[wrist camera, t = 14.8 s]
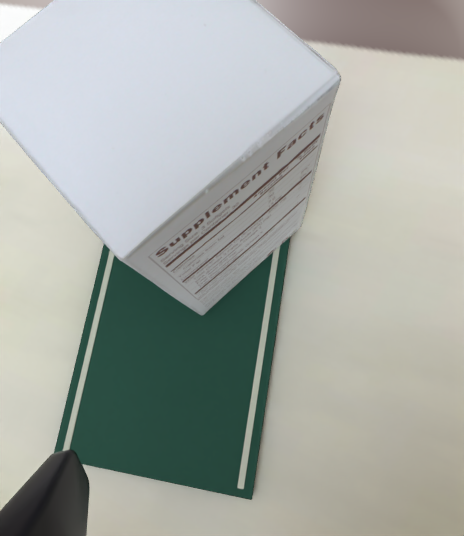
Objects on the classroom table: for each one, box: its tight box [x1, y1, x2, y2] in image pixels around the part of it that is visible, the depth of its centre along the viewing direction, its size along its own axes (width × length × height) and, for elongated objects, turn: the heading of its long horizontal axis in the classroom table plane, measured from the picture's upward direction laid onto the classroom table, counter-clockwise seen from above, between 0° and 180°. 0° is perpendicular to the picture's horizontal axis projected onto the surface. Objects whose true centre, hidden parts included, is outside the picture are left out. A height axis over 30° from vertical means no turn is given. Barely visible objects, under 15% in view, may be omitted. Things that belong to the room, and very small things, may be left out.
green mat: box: [54, 237, 290, 500], centre depth 23 cm, size 20×10×1 cm, turn 171°
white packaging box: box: [0, 0, 341, 315], centre depth 17 cm, size 7×7×13 cm
